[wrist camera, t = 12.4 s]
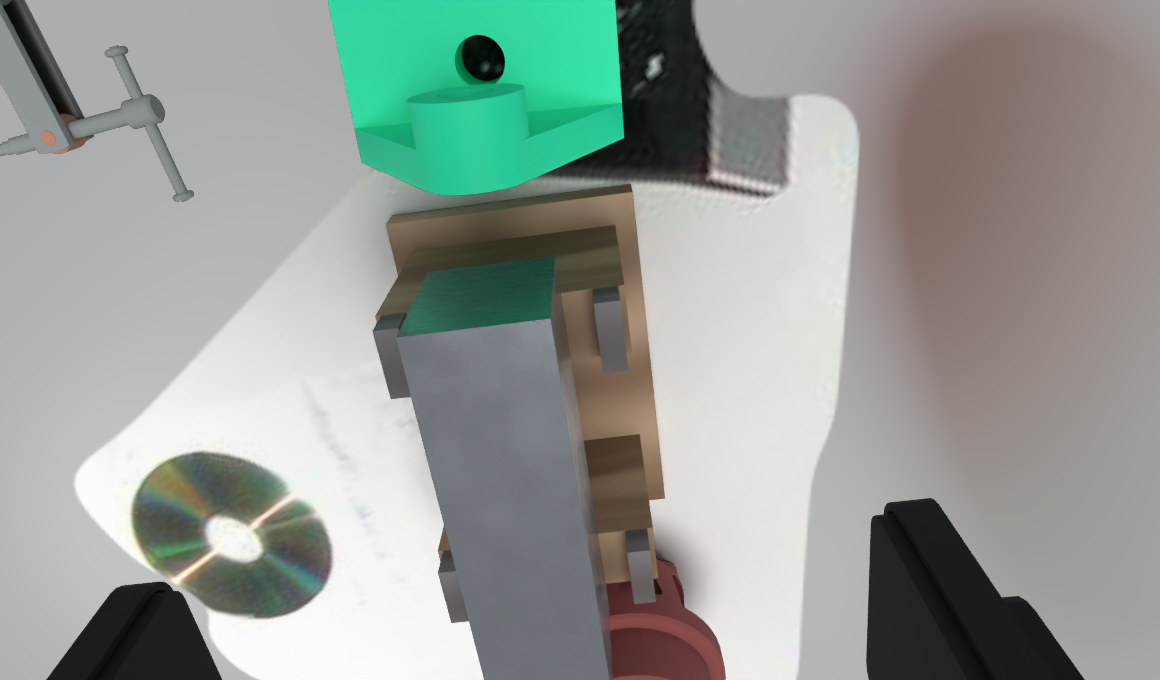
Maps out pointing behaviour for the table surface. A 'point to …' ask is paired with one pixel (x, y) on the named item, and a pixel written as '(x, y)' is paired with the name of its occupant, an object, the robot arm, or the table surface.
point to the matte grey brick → (510, 467)
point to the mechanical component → (660, 634)
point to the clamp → (66, 97)
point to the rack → (596, 342)
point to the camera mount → (478, 88)
